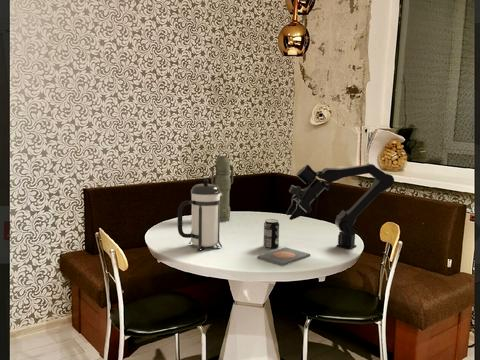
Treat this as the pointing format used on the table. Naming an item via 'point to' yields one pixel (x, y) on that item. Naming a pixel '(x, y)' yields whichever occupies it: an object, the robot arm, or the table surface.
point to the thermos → (223, 184)
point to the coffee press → (203, 215)
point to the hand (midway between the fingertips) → (288, 216)
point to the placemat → (284, 256)
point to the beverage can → (271, 234)
